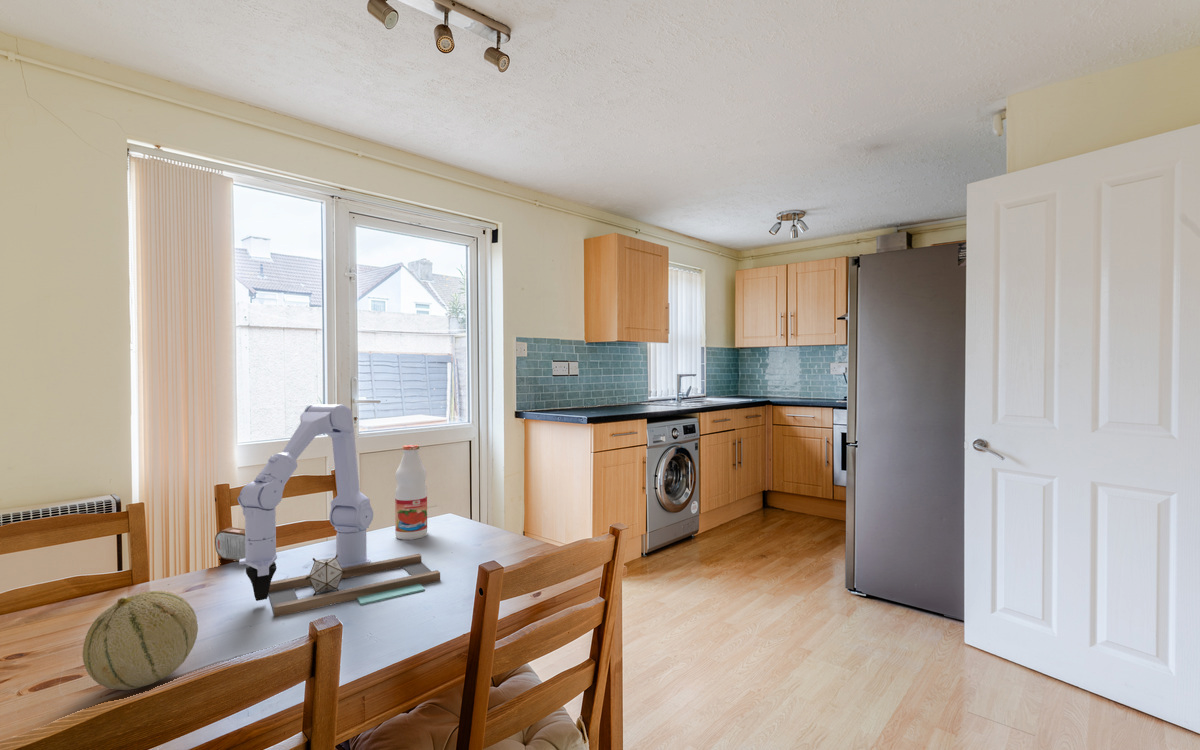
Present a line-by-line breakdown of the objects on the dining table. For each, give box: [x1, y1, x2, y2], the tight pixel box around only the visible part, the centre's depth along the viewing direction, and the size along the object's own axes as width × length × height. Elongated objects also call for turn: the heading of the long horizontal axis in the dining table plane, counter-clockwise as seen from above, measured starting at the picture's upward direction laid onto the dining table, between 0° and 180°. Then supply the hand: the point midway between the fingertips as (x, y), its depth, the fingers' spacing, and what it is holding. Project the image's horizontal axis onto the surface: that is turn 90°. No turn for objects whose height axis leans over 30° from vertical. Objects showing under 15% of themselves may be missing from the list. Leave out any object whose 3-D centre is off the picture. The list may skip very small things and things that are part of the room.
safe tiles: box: [356, 584, 426, 606], centre depth 137 cm, size 25×14×1 cm, turn 35°
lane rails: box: [269, 553, 441, 618], centre depth 133 cm, size 17×35×2 cm, turn 125°
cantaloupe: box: [82, 590, 199, 691], centre depth 92 cm, size 15×15×15 cm
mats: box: [268, 561, 432, 613], centre depth 133 cm, size 13×35×1 cm, turn 125°
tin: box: [214, 526, 246, 562], centre depth 152 cm, size 15×3×8 cm, turn 71°
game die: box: [306, 554, 346, 596], centre depth 130 cm, size 9×8×10 cm
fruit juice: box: [394, 444, 428, 541], centre depth 173 cm, size 9×9×28 cm
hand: (261, 598), depth 122 cm, fingers closed
